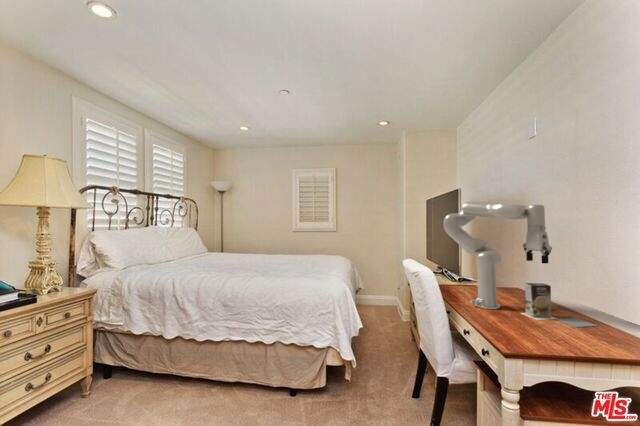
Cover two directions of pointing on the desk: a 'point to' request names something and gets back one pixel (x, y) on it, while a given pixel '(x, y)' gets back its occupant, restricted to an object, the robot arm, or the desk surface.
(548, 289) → the coffee box
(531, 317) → the card
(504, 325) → the desk surface
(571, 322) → the mat
